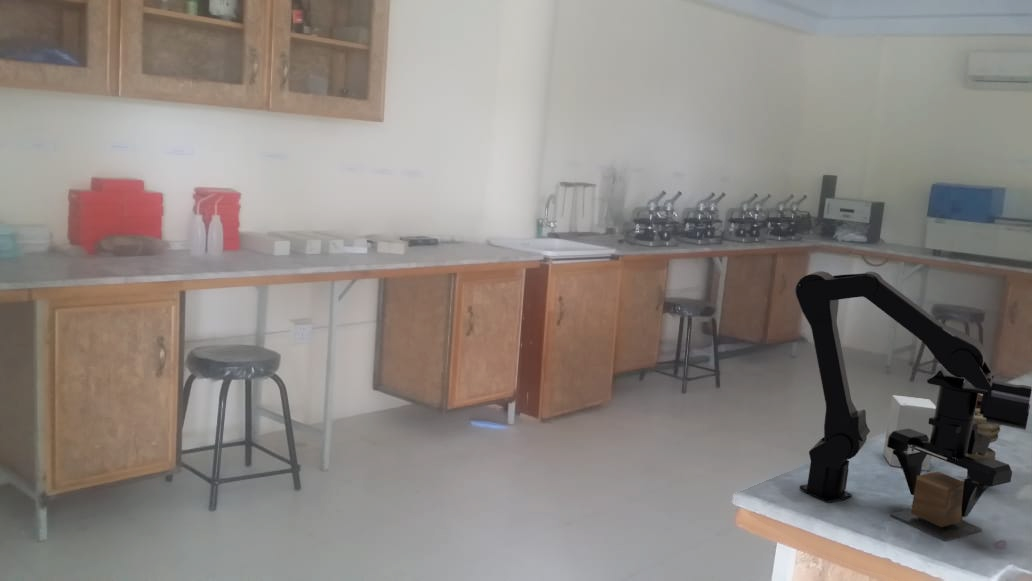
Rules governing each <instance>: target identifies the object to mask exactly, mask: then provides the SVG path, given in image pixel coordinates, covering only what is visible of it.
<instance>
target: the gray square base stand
mask: <svg viewBox="0 0 1032 581" xmlns="http://www.w3.org/2000/svg"><path fill="white" fill-rule="evenodd" d="M911 509H912V508H908V509H904V510H901V511H896V512H891V513H890V515H889V516H890V517H892V518H894V519H896V520H898V521H901V522H903V523H905V524H908V525H909V526H911V527H913V528H915V529H917V530H920V531H922V532H925V533H926V534H928V535H931V536H933V537H935V538H937V539H940V540H942V541H944V542H947V541H952V540H954V539H959V538H961V537H964V536H968V535H971V534H972V535H973V534H976V533H979V532H982V530H983V528H982V527H980V526H977V525H975V524H973V523H970V522H968V521H965V520H963V519H962V522H958V523H955V524H951V525H947V526H944V527H940V526H938V525H936V524H934V523H931V522H929V521H927V520H925V519H923V518H920V517H918V516H916V515H914V514H911Z"/></svg>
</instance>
